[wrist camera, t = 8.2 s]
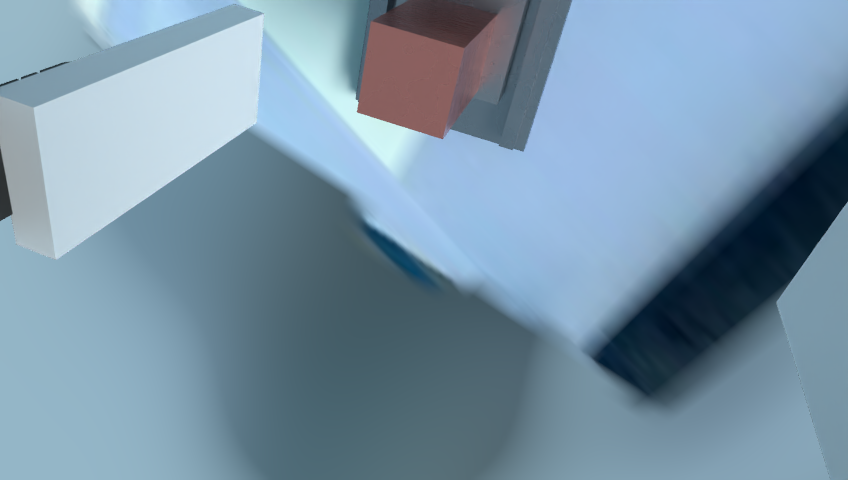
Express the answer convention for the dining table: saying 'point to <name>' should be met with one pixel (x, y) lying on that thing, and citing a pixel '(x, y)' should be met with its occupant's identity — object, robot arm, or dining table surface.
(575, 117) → the dining table surface
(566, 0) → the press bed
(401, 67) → the block
